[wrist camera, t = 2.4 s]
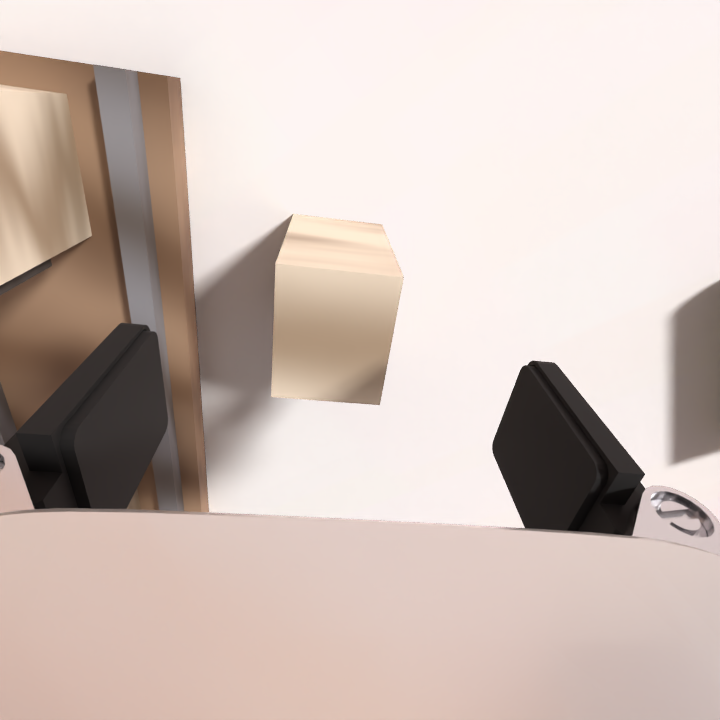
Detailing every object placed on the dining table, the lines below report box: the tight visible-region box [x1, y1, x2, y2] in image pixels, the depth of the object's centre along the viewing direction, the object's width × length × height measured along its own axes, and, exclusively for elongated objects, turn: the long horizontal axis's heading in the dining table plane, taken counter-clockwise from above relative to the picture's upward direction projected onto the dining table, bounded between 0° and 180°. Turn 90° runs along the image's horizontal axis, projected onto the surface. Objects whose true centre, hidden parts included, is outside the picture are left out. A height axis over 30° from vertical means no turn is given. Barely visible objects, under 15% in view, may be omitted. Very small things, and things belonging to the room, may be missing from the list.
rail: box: [0, 51, 209, 512], centre depth 19 cm, size 26×11×8 cm, turn 173°
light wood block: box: [271, 214, 404, 405], centre depth 18 cm, size 6×4×7 cm
